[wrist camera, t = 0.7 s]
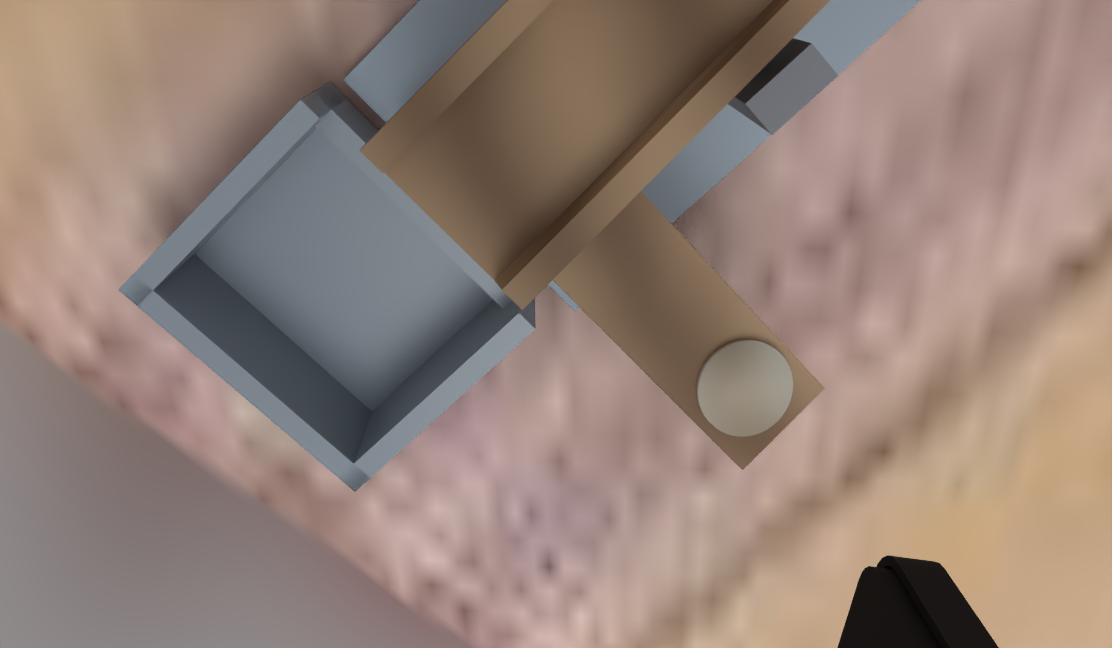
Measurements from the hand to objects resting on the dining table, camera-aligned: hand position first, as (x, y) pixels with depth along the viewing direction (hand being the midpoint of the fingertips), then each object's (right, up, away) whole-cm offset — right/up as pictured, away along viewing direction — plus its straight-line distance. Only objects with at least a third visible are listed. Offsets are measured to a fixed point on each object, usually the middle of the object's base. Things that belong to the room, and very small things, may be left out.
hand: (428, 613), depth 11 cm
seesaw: (+8, +10, +19) cm, 23 cm away
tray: (-6, +5, +27) cm, 29 cm away
